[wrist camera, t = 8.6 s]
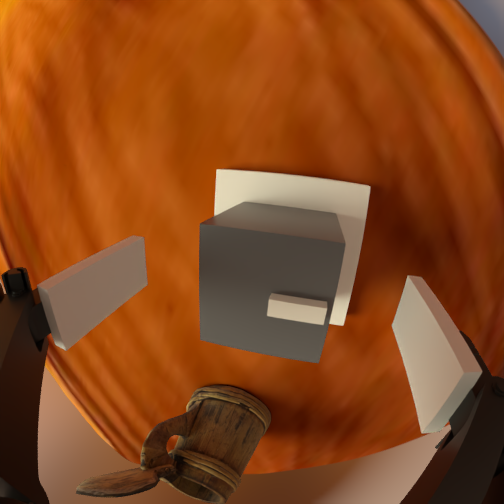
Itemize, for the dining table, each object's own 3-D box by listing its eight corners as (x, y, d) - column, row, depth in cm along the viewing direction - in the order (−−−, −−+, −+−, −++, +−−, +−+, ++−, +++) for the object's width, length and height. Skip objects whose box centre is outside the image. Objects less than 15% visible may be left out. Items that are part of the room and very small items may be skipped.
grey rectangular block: (238, 284, 20) (195, 346, 13) (243, 201, 18) (193, 226, 11) (321, 298, 19) (318, 371, 12) (336, 213, 17) (347, 247, 10)
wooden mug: (210, 340, 24) (99, 506, 8) (285, 425, 26) (245, 569, 9) (153, 363, 27) (57, 480, 11) (225, 437, 29) (173, 550, 12)
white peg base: (224, 168, 19) (181, 172, 13) (366, 184, 17) (389, 194, 11) (218, 295, 22) (184, 339, 16) (342, 315, 20) (346, 370, 14)
